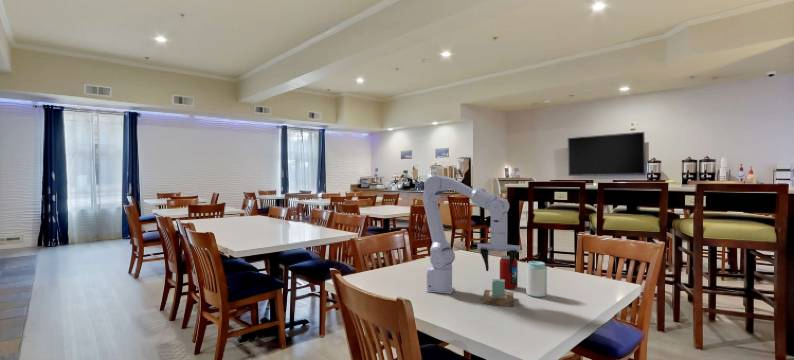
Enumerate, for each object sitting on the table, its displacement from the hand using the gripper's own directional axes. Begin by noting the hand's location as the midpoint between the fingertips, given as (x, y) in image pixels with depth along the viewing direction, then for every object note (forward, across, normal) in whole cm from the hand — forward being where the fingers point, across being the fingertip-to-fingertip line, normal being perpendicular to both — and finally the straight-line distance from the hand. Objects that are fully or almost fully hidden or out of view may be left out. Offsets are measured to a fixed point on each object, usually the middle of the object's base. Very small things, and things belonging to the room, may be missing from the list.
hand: (498, 271), depth 135 cm
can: (+10, +13, +11) cm, 20 cm away
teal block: (+8, 0, 0) cm, 8 cm away
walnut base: (+10, 0, 0) cm, 10 cm away
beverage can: (+11, +3, +18) cm, 21 cm away
